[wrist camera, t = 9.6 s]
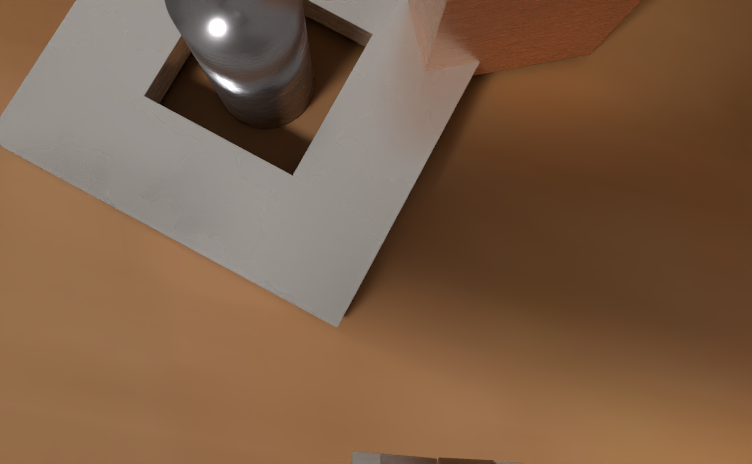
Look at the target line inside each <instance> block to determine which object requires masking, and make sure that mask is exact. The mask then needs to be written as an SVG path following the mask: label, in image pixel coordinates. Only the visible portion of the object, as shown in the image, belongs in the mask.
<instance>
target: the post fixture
mask: <svg viewBox="0 0 752 464" xmlns="http://www.w3.org/2000/svg"><path fill="white" fill-rule="evenodd" d="M165 4H166V8H167V11H168V13H169V16H170V18H171V19H172V21H173V23H174V24H175V26H176V28H177V29H178V31H179V32H180V34H181V36H182V37H183V39H184V40H185V42H186V44H187V45H188V47H189V49H190V50H191V52H192V53H193V55H194V57H195V58H196V60H197V61H198V63H199V65H200V66H201V68H202V69H203V71H204V73H205V74H206V76H207V78H208V79H209V81H210V82H211V84H212V86H213V87H214V89H215V90H216V92H217V94H218V95H219V97H220V98H221V100H222V102H223V103H224V105H225V106H226V108H227V109H228V111H229V112H230V113H231V114H232V115H233V116H234V117H235V118H237V119H238V120H239V121H241V122H243V123H244V124H247V125H249V126H252V127H256V128H276V127H280V126H283V125H286V124H288V123H290V122H292V121H293V120H295V119H296V118H298V117H299V116H300V115H301V114H302V113H303V112H304V110H305V109H306V108H307V106H308V104H309V103H310V100H311V98H312V95H313V91H314V74H313V67H312V61H311V54H310V48H309V41H308V35H307V29H306V22H305V16H304V9H303V3H302V0H165Z"/></svg>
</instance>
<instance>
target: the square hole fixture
mask: <svg viewBox="0 0 752 464" xmlns="http://www.w3.org/2000/svg"><path fill="white" fill-rule="evenodd" d="M640 1H641V0H302V3H303V9H304V15H306V16H308V17H309V18H311V19H313V20H315V21H317V22H319V23H321V24H323V25H325V26H326V27H328V28H330V29H332V30H334V31H336V32H338V33H340V34H342V35H343V36H345V37H347V38H349V39H351V40H353V41H355V42H357V43H359V44H360V45H362V46H364V47H365V49H364V51H363V53H362V54H361V56H360V58H359V60H358V61H357V63H356V65H355V67H354V68H353V70H352V72H351V74H350V75H349V77H348V79H347V81H346V82H345V84H344V86H343V88H342V89H341V91H340V93H339V95H338V97H337V98H336V100H335V102H334V104H333V105H332V107H331V109H330V111H329V112H328V114H327V116H326V118H325V119H324V121H323V123H322V125H321V126H320V128H319V130H318V132H317V134H316V135H315V137H314V139H313V141H312V142H311V144H310V146H309V148H308V149H307V151H306V153H305V155H304V156H303V158H302V160H301V162H300V163H299V165H298V167H297V169H296V171H295V172H294V174H293V175H291V174H289V173H287V172H285V171H283V170H281V169H279V168H278V167H276V166H274V165H272V164H270V163H268V162H266V161H265V160H263V159H261V158H259V157H257V156H255V155H253V154H251V153H250V152H248V151H246V150H244V149H242V148H240V147H238V146H237V145H235V144H233V143H231V142H229V141H227V140H225V139H223V138H222V137H220V136H218V135H216V134H214V133H212V132H210V131H208V130H207V129H205V128H203V127H201V126H199V125H197V124H195V123H194V122H192V121H190V120H188V119H186V118H184V117H182V116H180V115H179V114H177V113H175V112H173V111H171V110H169V109H167V108H166V107H164V106H162V105H160V102H161V100H162V99H163V97H164V96H165V94H166V92H167V91H168V89H169V87H170V86H171V84H172V82H173V81H174V79H175V78H176V76H177V74H178V73H179V71H180V69H181V68H182V66H183V65H184V63H185V61H186V60H187V58H188V56H189V55H190V53H191V50H190V49H189V47H188V45H187V44H186V42H185V40H184V39H183V37H182V36H181V34H180V32H179V31H178V29H177V28H176V26H175V24H174V23H173V21H172V19H171V18H170V16H169V13H168V11H167V8H166V4H165V0H76V1H75V3H74V5H73V6H72V8H71V9H70V11H69V12H68V14H67V15H66V17H65V18H64V20H63V21H62V23H61V24H60V26H59V28H58V29H57V31H56V32H55V34H54V35H53V37H52V38H51V40H50V41H49V43H48V44H47V46H46V48H45V49H44V51H43V52H42V54H41V55H40V57H39V58H38V60H37V61H36V63H35V64H34V66H33V68H32V69H31V71H30V72H29V74H28V75H27V77H26V78H25V80H24V81H23V83H22V84H21V86H20V88H19V89H18V91H17V92H16V94H15V95H14V97H13V98H12V100H11V101H10V103H9V104H8V106H7V108H6V109H5V111H4V112H3V114H2V115H1V117H0V146H2V147H3V148H5V149H7V150H9V151H11V152H13V153H15V154H16V155H18V156H20V157H22V158H24V159H26V160H27V161H29V162H31V163H33V164H35V165H37V166H39V167H40V168H42V169H44V170H46V171H48V172H50V173H52V174H53V175H55V176H57V177H59V178H61V179H63V180H64V181H66V182H68V183H70V184H72V185H74V186H76V187H77V188H79V189H81V190H83V191H85V192H87V193H89V194H90V195H92V196H94V197H96V198H98V199H100V200H101V201H103V202H105V203H107V204H109V205H111V206H113V207H114V208H116V209H118V210H120V211H122V212H124V213H126V214H127V215H129V216H131V217H133V218H135V219H137V220H139V221H140V222H142V223H144V224H146V225H148V226H150V227H151V228H153V229H155V230H157V231H159V232H161V233H163V234H164V235H166V236H168V237H170V238H172V239H174V240H176V241H177V242H179V243H181V244H183V245H185V246H187V247H188V248H190V249H192V250H194V251H196V252H198V253H200V254H201V255H203V256H205V257H207V258H209V259H211V260H213V261H214V262H216V263H218V264H220V265H222V266H224V267H225V268H227V269H229V270H231V271H233V272H235V273H237V274H238V275H240V276H242V277H244V278H246V279H248V280H250V281H251V282H253V283H255V284H257V285H259V286H261V287H263V288H264V289H266V290H268V291H270V292H272V293H274V294H275V295H277V296H279V297H281V298H283V299H285V300H287V301H288V302H290V303H292V304H294V305H296V306H298V307H300V308H301V309H303V310H305V311H307V312H309V313H311V314H312V315H314V316H316V317H318V318H320V319H322V320H324V321H325V322H327V323H329V324H331V325H333V326H335V327H338V326H339V324H340V322H341V320H342V318H343V316H344V314H345V312H346V311H347V309H348V307H349V305H350V303H351V301H352V299H353V298H354V296H355V294H356V292H357V290H358V288H359V286H360V285H361V283H362V281H363V279H364V277H365V275H366V273H367V271H368V270H369V268H370V266H371V264H372V262H373V260H374V258H375V257H376V255H377V253H378V251H379V249H380V247H381V245H382V243H383V242H384V240H385V238H386V236H387V234H388V232H389V230H390V229H391V227H392V225H393V223H394V221H395V219H396V217H397V216H398V214H399V212H400V210H401V208H402V206H403V204H404V202H405V201H406V199H407V197H408V195H409V193H410V191H411V189H412V188H413V186H414V184H415V182H416V180H417V178H418V176H419V174H420V173H421V171H422V169H423V167H424V165H425V163H426V161H427V160H428V158H429V156H430V154H431V152H432V150H433V148H434V146H435V145H436V143H437V141H438V139H439V137H440V135H441V133H442V132H443V130H444V128H445V126H446V124H447V122H448V120H449V119H450V117H451V115H452V113H453V111H454V109H455V107H456V105H457V104H458V102H459V100H460V98H461V96H462V94H463V92H464V91H465V89H466V87H467V85H468V83H469V81H470V79H471V77H472V76H475V75H480V74H486V73H491V72H496V71H502V70H507V69H512V68H518V67H523V66H528V65H534V64H539V63H544V62H550V61H555V60H560V59H566V58H571V57H576V56H582V55H587V54H591V53H592V52H593V50H594V49H595V48H596V47H597V46H598V45H599V44H600V43H601V42H602V41H603V40H604V39H605V38H606V37H607V36H608V35H609V34H610V33H611V32H612V31H613V30H614V28H615V27H616V26H617V25H618V24H619V23H620V22H621V21H622V20H623V19H624V18H625V17H626V16H627V15H628V14H629V13H630V12H631V11H632V10H633V9H634V8H635V7H636V5H637V4H638V3H639V2H640Z"/></svg>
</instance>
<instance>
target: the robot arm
mask: <svg viewBox="0 0 752 464" xmlns="http://www.w3.org/2000/svg"><path fill="white" fill-rule="evenodd" d="M351 464H523V463H517V462H495V461H493V460H478V459H459V458H438V462H437V459H436V458H428V457H416V456H404V455H392V454H382V459H381V453H370V452H355V451H353V455H352V459H351Z"/></svg>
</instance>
